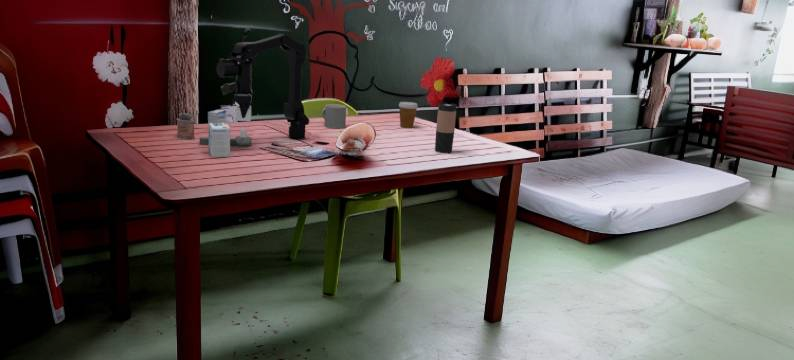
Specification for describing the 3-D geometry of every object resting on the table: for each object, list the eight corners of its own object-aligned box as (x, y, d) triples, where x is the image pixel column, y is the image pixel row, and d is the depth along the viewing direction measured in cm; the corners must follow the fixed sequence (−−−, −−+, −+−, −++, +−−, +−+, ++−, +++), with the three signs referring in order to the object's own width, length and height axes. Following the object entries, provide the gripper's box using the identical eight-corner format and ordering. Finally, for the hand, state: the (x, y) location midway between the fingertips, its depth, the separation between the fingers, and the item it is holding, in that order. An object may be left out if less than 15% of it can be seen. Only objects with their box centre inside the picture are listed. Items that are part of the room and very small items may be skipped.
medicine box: (217, 132, 257) (217, 112, 255) (208, 131, 258) (207, 111, 256) (226, 129, 265) (226, 110, 263) (217, 128, 266) (216, 109, 263)
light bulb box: (208, 150, 227) (207, 122, 224) (226, 150, 230) (226, 122, 227) (211, 157, 218) (211, 128, 215) (230, 157, 221) (230, 128, 218)
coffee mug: (349, 128, 288) (350, 107, 285) (331, 129, 281) (332, 108, 279) (333, 122, 297) (334, 102, 295) (316, 124, 291) (317, 103, 288)
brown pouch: (175, 137, 244) (174, 112, 241) (180, 135, 247) (180, 111, 244) (191, 140, 241) (190, 115, 239) (196, 138, 244) (196, 114, 242)
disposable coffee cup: (404, 124, 306) (406, 101, 303) (419, 127, 301) (421, 103, 298) (393, 126, 299) (394, 102, 295) (408, 129, 294) (410, 105, 290)
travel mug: (440, 153, 249) (444, 105, 244) (430, 149, 256) (435, 102, 250) (455, 153, 253) (460, 105, 247) (446, 148, 259) (450, 102, 254)
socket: (251, 118, 240) (251, 106, 239) (250, 121, 235) (250, 108, 233) (236, 118, 239) (236, 105, 237) (235, 120, 234) (235, 107, 232)
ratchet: (251, 143, 243) (251, 128, 242) (251, 147, 237) (251, 132, 236) (200, 142, 239) (200, 127, 238) (199, 145, 233) (198, 130, 232)
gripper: (223, 72, 239) (224, 111, 243) (220, 78, 222) (220, 120, 226) (252, 74, 242) (252, 112, 246) (251, 79, 224) (251, 121, 228)
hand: (243, 116), depth 236 cm, fingers closed on socket, 6 cm apart
